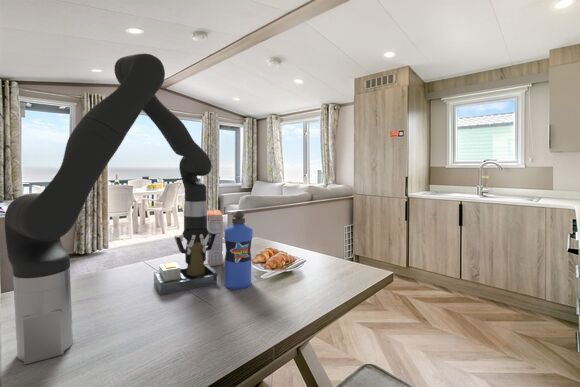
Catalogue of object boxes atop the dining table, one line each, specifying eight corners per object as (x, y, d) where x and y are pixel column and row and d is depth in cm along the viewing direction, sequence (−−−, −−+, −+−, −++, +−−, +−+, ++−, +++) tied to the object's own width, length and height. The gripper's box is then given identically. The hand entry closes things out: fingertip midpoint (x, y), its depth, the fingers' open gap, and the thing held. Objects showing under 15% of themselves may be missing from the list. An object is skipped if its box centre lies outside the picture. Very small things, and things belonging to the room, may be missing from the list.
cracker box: (206, 256, 132) (206, 209, 130) (220, 255, 134) (220, 209, 132) (207, 266, 119) (207, 214, 117) (222, 265, 120) (223, 214, 119)
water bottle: (254, 287, 100) (255, 213, 97) (226, 291, 96) (227, 214, 94) (247, 277, 108) (249, 209, 106) (221, 280, 105) (222, 210, 103)
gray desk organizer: (216, 283, 102) (217, 262, 101) (160, 295, 92) (160, 271, 91) (206, 274, 110) (206, 254, 110) (154, 284, 100) (153, 262, 100)
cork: (207, 270, 105) (207, 239, 104) (200, 276, 99) (200, 243, 98) (191, 268, 106) (191, 238, 105) (183, 274, 100) (183, 242, 99)
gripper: (176, 217, 94) (177, 270, 95) (219, 214, 102) (219, 263, 103) (171, 213, 100) (171, 263, 101) (212, 211, 108) (212, 257, 109)
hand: (195, 263), depth 102 cm, fingers closed on cork, 4 cm apart
